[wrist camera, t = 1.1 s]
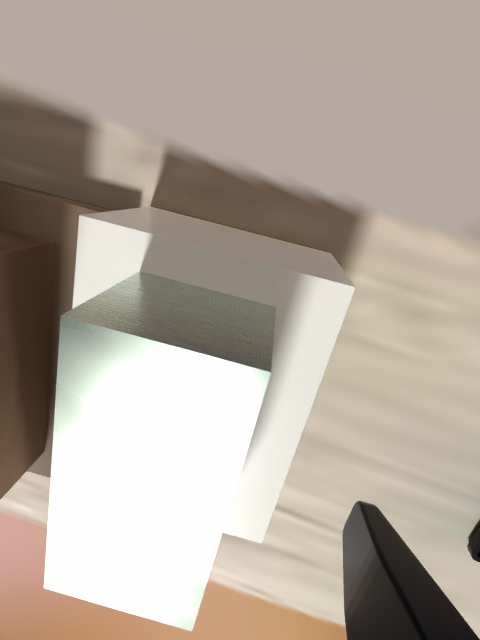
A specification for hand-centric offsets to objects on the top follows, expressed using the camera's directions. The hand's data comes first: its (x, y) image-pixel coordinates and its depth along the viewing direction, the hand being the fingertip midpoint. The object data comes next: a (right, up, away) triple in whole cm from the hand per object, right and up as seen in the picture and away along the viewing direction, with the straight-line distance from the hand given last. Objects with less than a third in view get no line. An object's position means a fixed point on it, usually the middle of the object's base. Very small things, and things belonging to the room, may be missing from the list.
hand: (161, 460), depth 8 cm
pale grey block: (+1, +2, +5) cm, 6 cm away
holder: (+1, +3, +7) cm, 7 cm away
